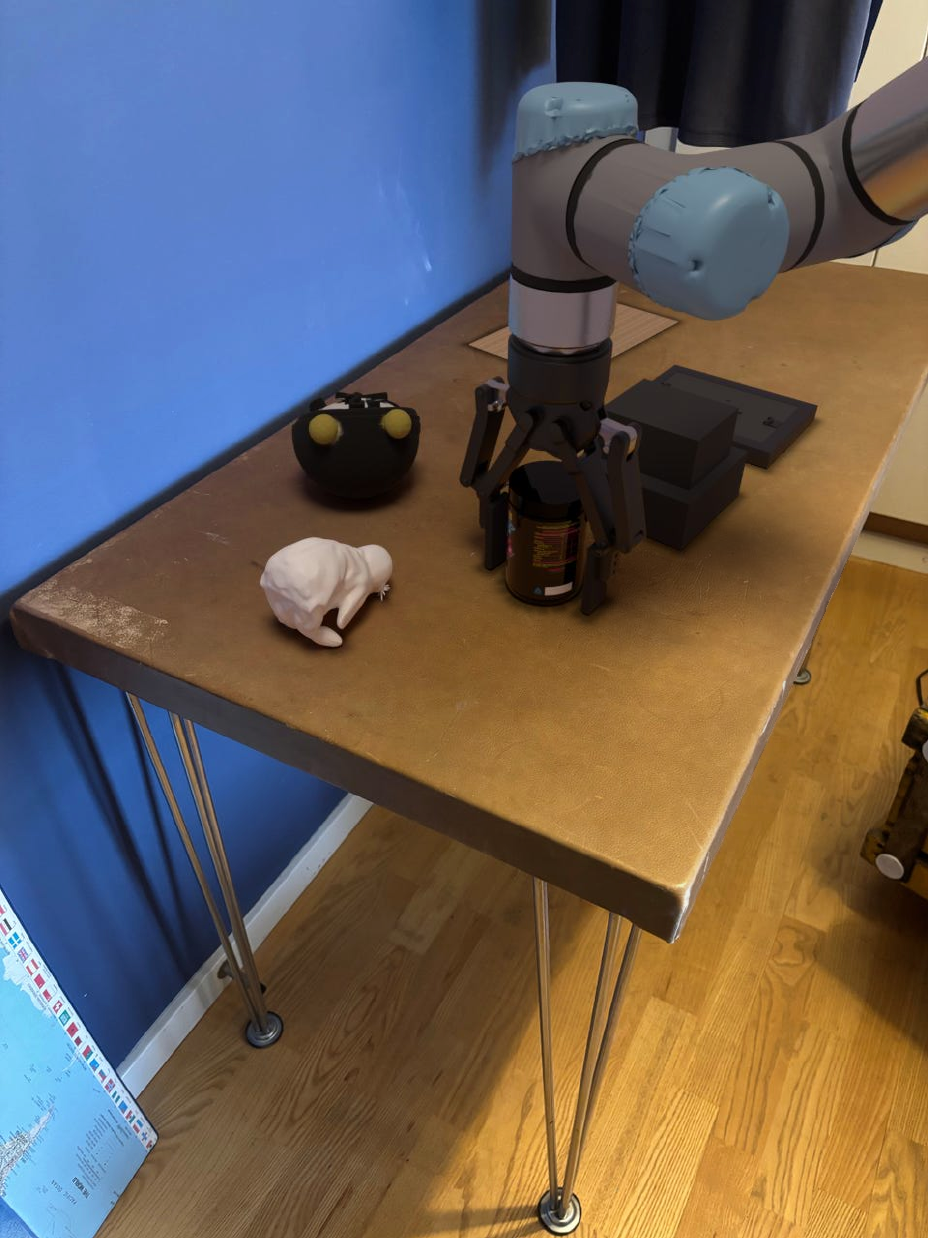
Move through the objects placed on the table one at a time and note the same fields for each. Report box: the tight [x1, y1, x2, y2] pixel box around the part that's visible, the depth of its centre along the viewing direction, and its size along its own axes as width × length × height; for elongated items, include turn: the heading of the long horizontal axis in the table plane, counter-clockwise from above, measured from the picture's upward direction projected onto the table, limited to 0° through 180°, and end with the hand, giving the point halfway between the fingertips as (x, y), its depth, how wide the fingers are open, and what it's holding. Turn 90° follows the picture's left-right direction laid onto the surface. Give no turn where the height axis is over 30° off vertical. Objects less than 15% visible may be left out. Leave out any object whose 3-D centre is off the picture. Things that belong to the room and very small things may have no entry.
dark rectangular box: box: [601, 446, 748, 551], centre depth 88 cm, size 12×12×5 cm
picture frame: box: [652, 364, 819, 469], centre depth 102 cm, size 13×2×18 cm
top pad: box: [597, 378, 739, 490], centre depth 85 cm, size 10×8×5 cm
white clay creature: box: [259, 536, 394, 648], centre depth 74 cm, size 6×8×12 cm
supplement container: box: [505, 459, 589, 606], centre depth 76 cm, size 7×7×10 cm
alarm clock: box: [291, 391, 422, 500], centre depth 89 cm, size 12×15×15 cm
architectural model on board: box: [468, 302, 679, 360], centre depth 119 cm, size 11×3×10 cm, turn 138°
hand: (543, 582), depth 79 cm, fingers open, 9 cm apart
